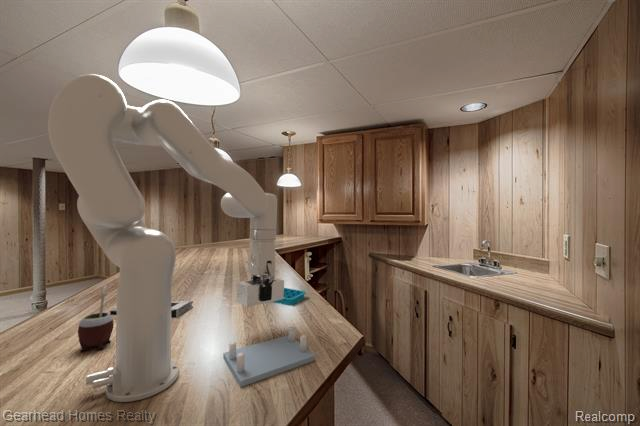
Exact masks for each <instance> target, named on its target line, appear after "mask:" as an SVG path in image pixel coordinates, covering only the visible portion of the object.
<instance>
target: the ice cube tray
mask: <svg viewBox="0 0 640 426" xmlns="http://www.w3.org/2000/svg"><path fill="white" fill-rule="evenodd" d="M306 294H307V291H306V290H300V289H294V288H289V287H284V299H281V300H277V301H272V303H277V304H280V303H281V304H282V305H287V306H294V305H295V304H297V303H299V302H301V301H303V300H304V299H305V295H306ZM302 299H303V300H302Z"/></svg>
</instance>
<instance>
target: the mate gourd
mask: <svg viewBox="0 0 640 426" xmlns="http://www.w3.org/2000/svg"><path fill="white" fill-rule="evenodd" d="M107 285H108V283H104V286H103V289H102V292H101V295H100V298H101V299H100V309H99V312H97V313H93V314H90V315H86V316H85V317H83V318H82V319H81V321H80V322H79V324H78V327H77V328H78V329H77V337H78V343H79V346H80V348H81V349H80V353H81V354H84V353H85V352H88V351H92V350H94V349H95V350H97V351H99V352H101V351H103V350H104V347H103V346H105V345H109V344H110V343H111V341H112V340H110V339H111V335H112V333H113V330H114V319H113V316H112V315H110V313H109V312H103V310H104V309H103V308H104V301H105V296H106V294H105V293H106V289H107V287H108V286H107Z"/></svg>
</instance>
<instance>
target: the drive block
mask: <svg viewBox="0 0 640 426" xmlns="http://www.w3.org/2000/svg"><path fill="white" fill-rule="evenodd" d="M264 279H265V281H266V279H267V278H264ZM261 287H262V282H261V279H255V280H251V279H249V280H242V281H238V282H236V303H238V304H240V305H242V306H244V307H246V308H249V307H250V308H251V307H255V306H258V305H262V304H268V303H271V302H272V301H277V300H281V299H284V288H285V280H284V279H281V278H278V277H275V278H274V281H273V286H272V299H271V300H269V301H260V289H261ZM272 303H273V302H272Z"/></svg>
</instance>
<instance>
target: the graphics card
mask: <svg viewBox="0 0 640 426" xmlns="http://www.w3.org/2000/svg"><path fill="white" fill-rule="evenodd" d="M171 302H172V303H171V318H176V319H179V318H180V316H181V315H183V314H185V313H186V312H188V311H189V310H191V309H193V308H194V305H193V303H194V300H191V301H190V300H189V301H187V300H183V301H181V300H180V301H179V300H178V301H171ZM109 314H110V315H111V316H112V315H116V316H117V312H116V305H114V306H112V308H111V309H110V312H109Z"/></svg>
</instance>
